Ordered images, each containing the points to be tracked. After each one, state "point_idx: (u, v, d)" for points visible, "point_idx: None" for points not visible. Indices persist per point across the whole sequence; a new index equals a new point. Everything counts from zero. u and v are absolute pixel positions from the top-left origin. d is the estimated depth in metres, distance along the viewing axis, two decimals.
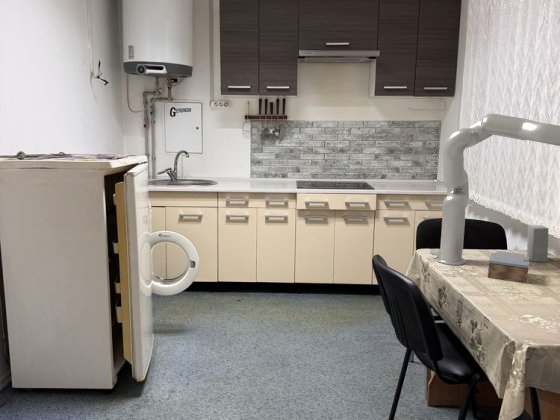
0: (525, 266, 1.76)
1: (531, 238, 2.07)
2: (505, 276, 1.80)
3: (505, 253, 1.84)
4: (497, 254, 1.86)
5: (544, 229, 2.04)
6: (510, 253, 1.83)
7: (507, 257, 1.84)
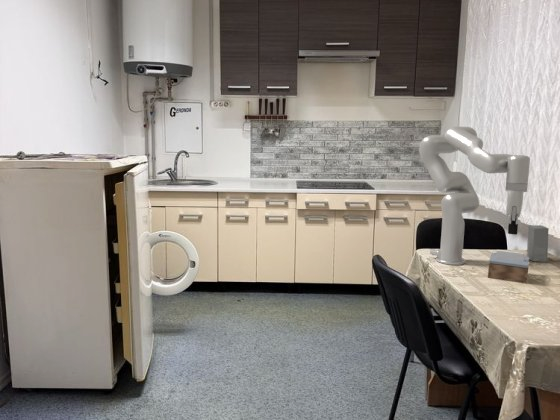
0: (525, 266, 1.76)
1: (531, 238, 2.07)
2: (505, 276, 1.80)
3: (505, 253, 1.84)
4: (497, 254, 1.86)
5: (544, 229, 2.04)
6: (510, 253, 1.83)
7: (507, 257, 1.84)
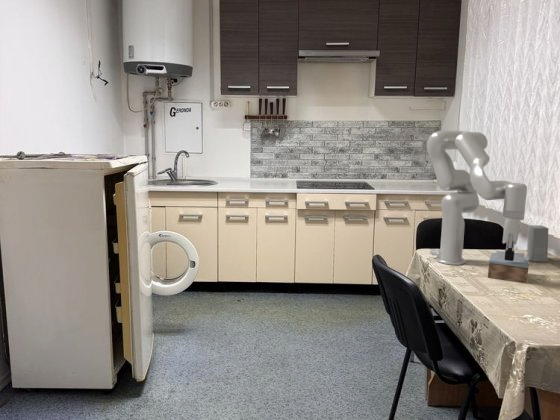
0: (525, 266, 1.76)
1: (531, 238, 2.07)
2: (505, 276, 1.80)
3: None
4: (497, 254, 1.86)
5: (544, 229, 2.04)
6: None
7: None
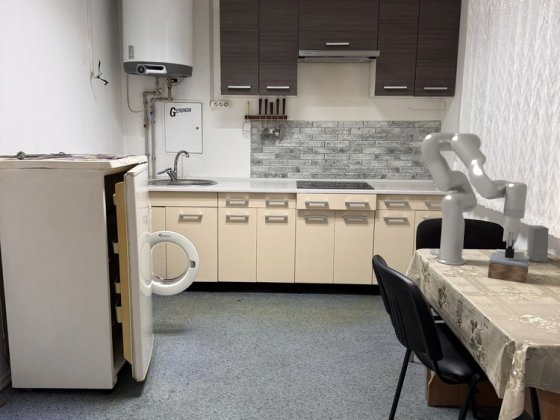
0: (525, 265, 1.76)
1: (531, 238, 2.07)
2: (505, 276, 1.80)
3: None
4: (497, 254, 1.86)
5: (544, 229, 2.04)
6: None
7: None
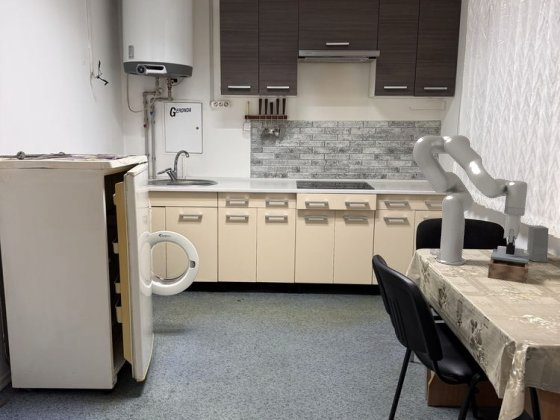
0: (525, 261, 1.82)
1: (531, 238, 2.08)
2: (505, 276, 1.80)
3: None
4: (498, 250, 1.92)
5: (544, 229, 2.04)
6: None
7: None
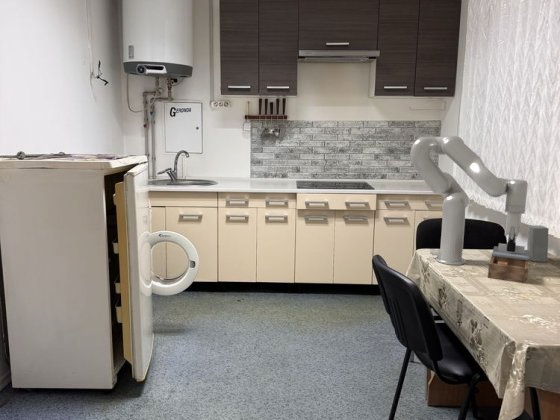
0: (526, 258, 1.86)
1: (531, 238, 2.07)
2: (505, 276, 1.80)
3: None
4: (499, 247, 1.96)
5: (544, 229, 2.04)
6: None
7: None
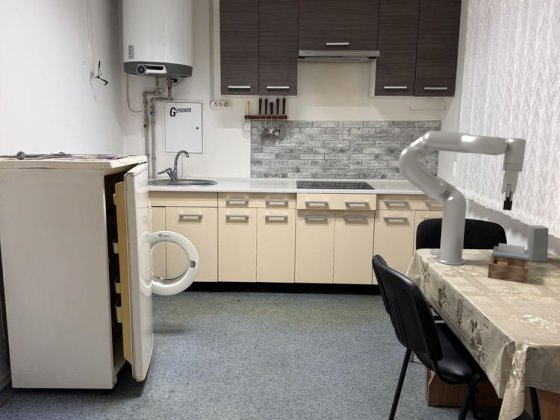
0: (526, 258, 1.87)
1: (531, 238, 2.07)
2: (505, 276, 1.80)
3: (507, 246, 1.95)
4: (499, 247, 1.97)
5: (544, 229, 2.04)
6: (511, 246, 1.94)
7: (509, 250, 1.95)
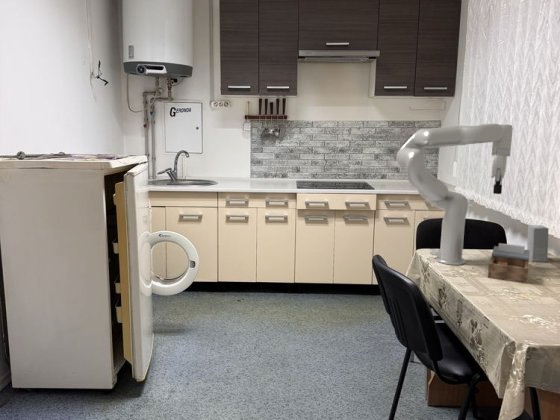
0: (526, 258, 1.87)
1: (531, 238, 2.07)
2: (505, 276, 1.80)
3: (507, 246, 1.95)
4: (499, 247, 1.97)
5: (544, 229, 2.04)
6: (511, 246, 1.94)
7: (509, 250, 1.95)
